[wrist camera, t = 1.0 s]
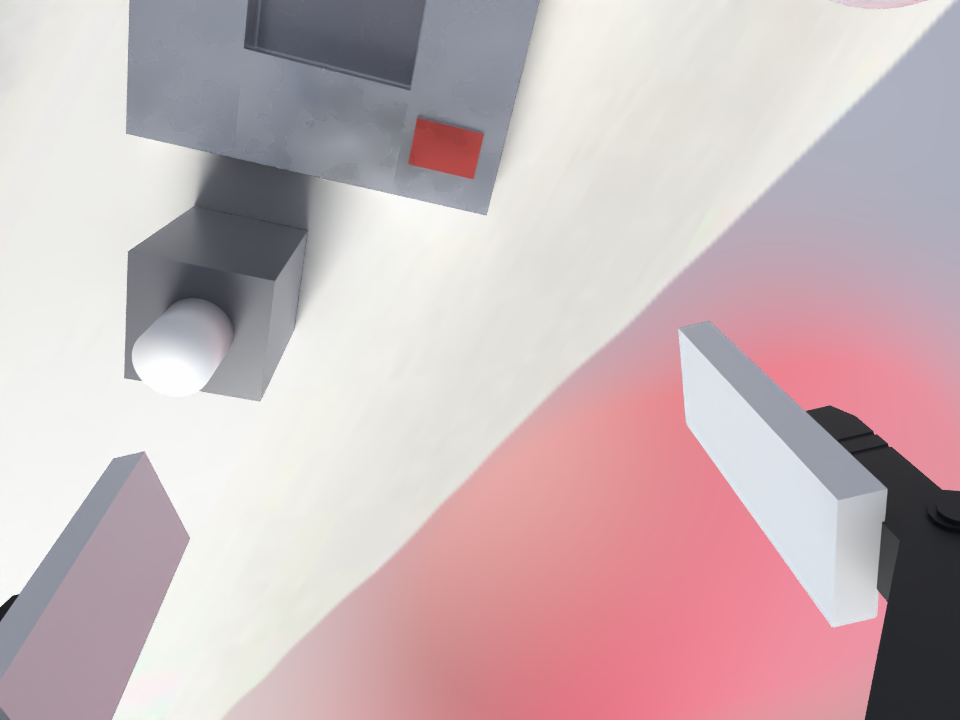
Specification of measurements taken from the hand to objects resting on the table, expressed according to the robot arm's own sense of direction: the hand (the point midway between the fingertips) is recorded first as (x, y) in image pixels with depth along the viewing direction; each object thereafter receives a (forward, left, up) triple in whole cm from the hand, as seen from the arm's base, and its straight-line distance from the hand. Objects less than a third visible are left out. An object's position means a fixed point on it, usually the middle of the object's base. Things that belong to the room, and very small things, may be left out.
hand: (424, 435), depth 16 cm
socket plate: (-6, +10, -20) cm, 23 cm away
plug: (-9, -4, -20) cm, 22 cm away
